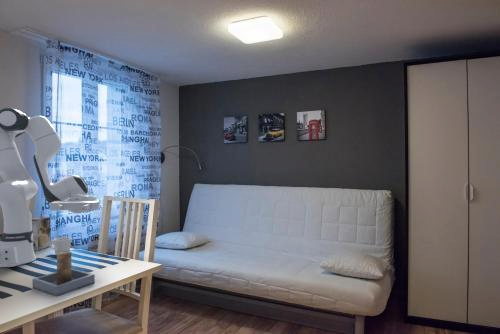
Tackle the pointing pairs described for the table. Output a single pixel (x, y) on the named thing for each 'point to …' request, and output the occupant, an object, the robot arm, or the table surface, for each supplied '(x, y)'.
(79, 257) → the table surface
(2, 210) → the robot arm
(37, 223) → the coffee box
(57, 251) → the cup
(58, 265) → the walnut cylinder
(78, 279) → the box
